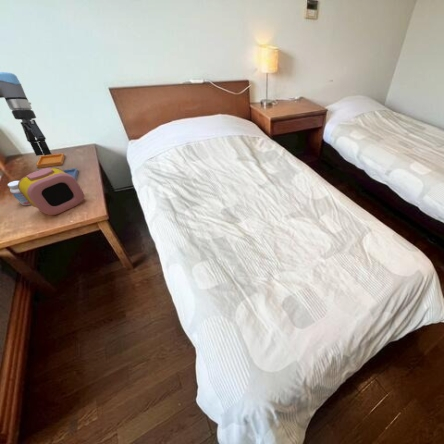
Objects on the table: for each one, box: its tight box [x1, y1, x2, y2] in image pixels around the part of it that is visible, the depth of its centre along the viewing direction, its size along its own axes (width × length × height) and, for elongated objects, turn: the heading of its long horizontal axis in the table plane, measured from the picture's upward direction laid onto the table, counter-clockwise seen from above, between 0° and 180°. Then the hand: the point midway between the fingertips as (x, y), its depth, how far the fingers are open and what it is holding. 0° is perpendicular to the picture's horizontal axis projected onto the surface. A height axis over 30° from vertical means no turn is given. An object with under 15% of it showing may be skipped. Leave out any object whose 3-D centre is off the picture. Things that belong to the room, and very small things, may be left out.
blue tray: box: [62, 167, 79, 181], centre depth 139 cm, size 11×11×2 cm
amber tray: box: [35, 152, 66, 169], centre depth 150 cm, size 11×11×2 cm
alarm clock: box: [18, 167, 85, 216], centre depth 117 cm, size 18×11×19 cm, turn 151°
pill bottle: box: [7, 180, 31, 206], centre depth 120 cm, size 6×6×11 cm
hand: (43, 155), depth 126 cm, fingers open, 13 cm apart
